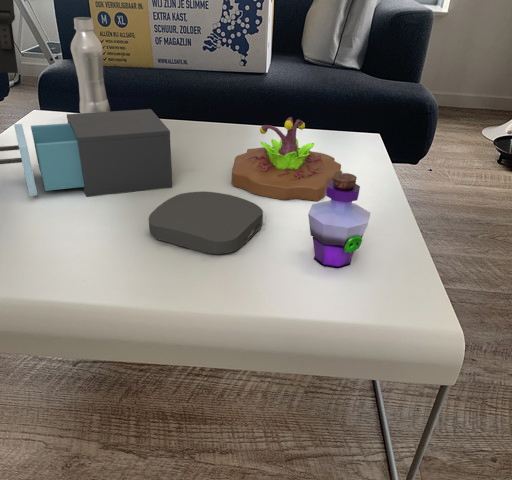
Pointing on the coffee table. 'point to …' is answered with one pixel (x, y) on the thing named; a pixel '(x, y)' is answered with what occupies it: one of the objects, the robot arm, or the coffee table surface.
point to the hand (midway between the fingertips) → (7, 71)
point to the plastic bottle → (89, 67)
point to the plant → (285, 167)
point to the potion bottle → (338, 223)
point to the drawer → (49, 157)
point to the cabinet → (122, 151)
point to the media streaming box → (206, 221)
